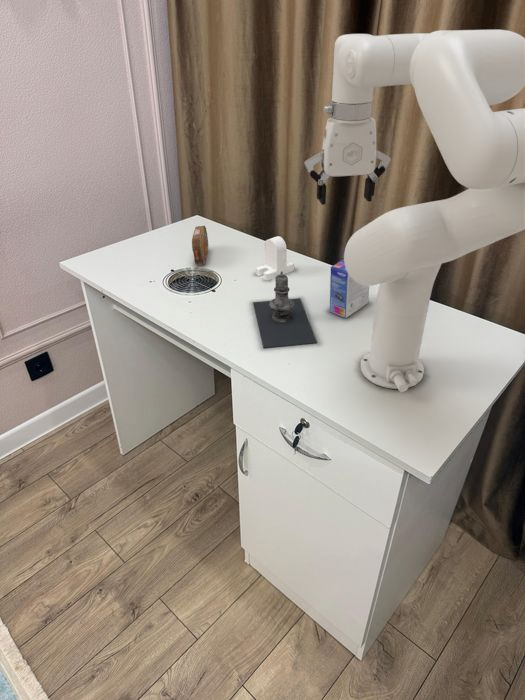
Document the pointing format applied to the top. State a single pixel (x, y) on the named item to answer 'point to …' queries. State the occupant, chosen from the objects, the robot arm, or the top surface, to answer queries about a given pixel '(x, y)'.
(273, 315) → the salt shaker
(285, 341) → the mat
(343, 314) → the ink cartridge box
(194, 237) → the tin
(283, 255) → the cable organizer
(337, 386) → the top surface
